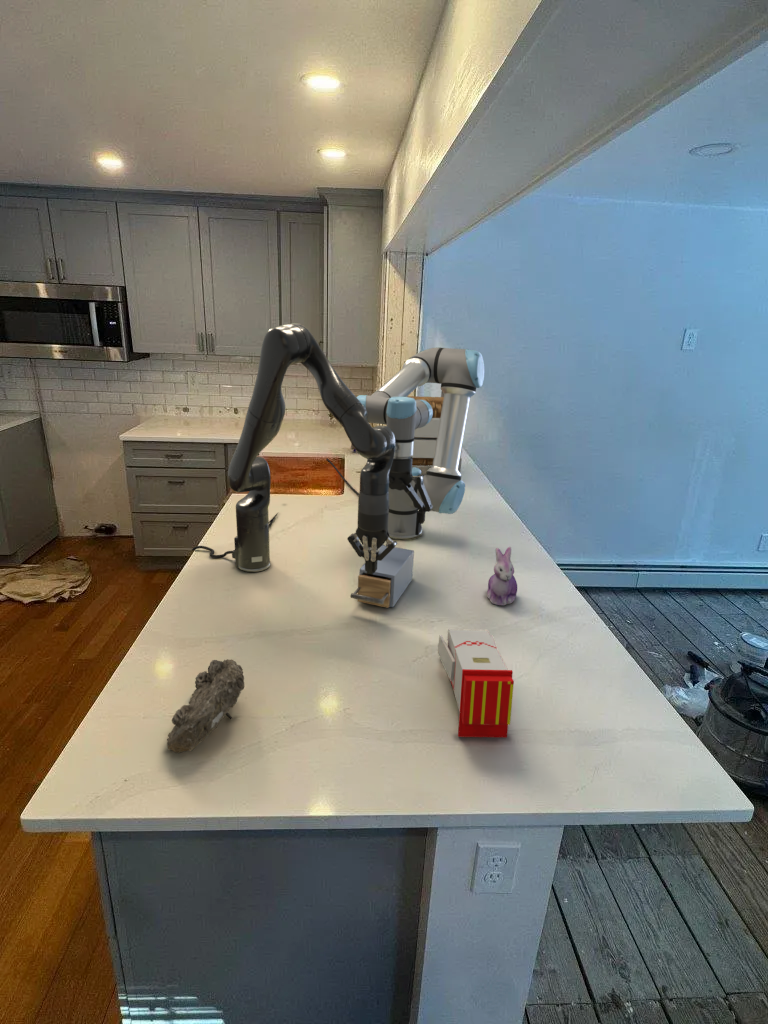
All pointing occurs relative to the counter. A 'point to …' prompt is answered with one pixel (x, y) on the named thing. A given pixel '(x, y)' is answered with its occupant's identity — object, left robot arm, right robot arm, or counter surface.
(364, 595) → the drawer
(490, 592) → the figurine
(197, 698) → the fossil
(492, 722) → the toy
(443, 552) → the counter surface
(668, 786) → the counter surface
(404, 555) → the cabinet
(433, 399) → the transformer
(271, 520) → the feather
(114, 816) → the counter surface
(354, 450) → the figurine character
